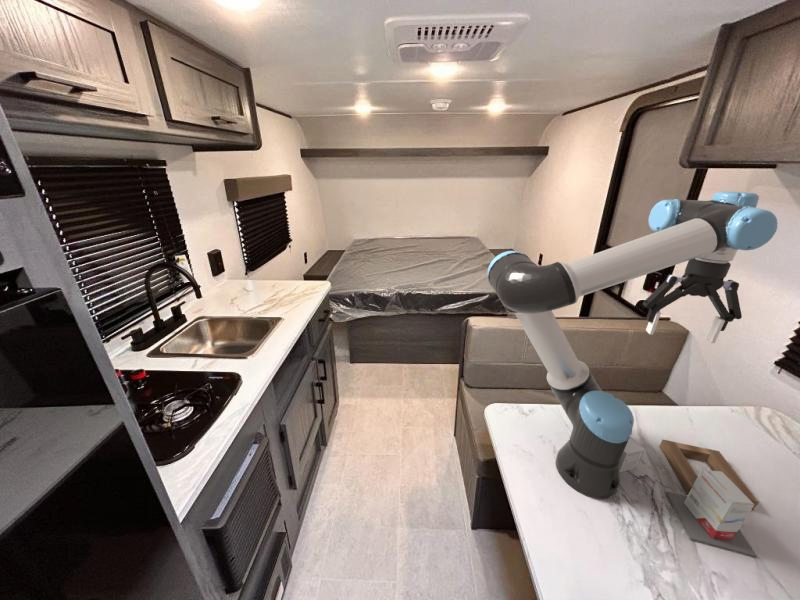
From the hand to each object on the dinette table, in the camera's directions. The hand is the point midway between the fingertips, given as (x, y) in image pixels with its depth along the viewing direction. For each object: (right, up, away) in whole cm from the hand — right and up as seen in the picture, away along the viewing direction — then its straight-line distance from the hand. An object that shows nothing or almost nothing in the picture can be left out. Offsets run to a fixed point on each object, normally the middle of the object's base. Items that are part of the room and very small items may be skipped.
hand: (678, 336), depth 85 cm
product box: (-12, -37, +7) cm, 39 cm away
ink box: (-1, -43, -9) cm, 44 cm away
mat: (-1, -43, -9) cm, 44 cm away
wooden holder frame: (+9, -39, +3) cm, 40 cm away
